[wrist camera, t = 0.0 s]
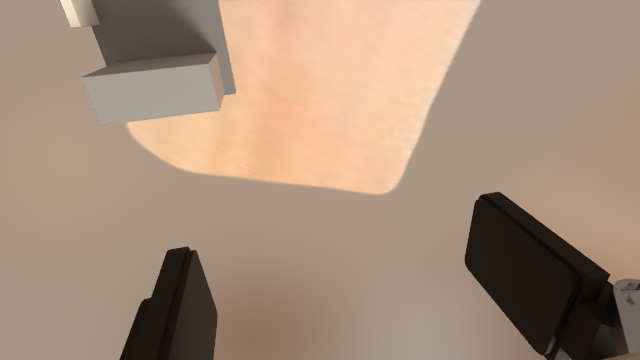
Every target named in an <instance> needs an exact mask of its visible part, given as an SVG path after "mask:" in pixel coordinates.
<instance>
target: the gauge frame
mask: <svg viewBox="0 0 640 360" xmlns="http://www.w3.org/2000/svg"><path fill="white" fill-rule="evenodd" d="M60 2H61V4H62V6H63V9H64V11H65V13H66V16H67V19H68V21H69V24H70V26H71V28H75V27H85V26H92V29H93V31H94V34H95V36H96V39H97V42H98V44H99V47H100V50H101V52H102V55H103V58H104V60H105V63H106V66H107V67H105V68H102V69H100V70H97V71H95V72H93V73H91V74H88V75H86V76H83V77H81V80H82V83H83V85H84V88H85V90H86V92H87V94H88V97H89V99H90V102H91V104H92V106H93V109H94V111H95V114H96V116H97V118H98V120H99V123H100V125H108V124H115V123H124V122H132V121H140V120H148V119H156V118H164V117H172V116H179V115H187V114H195V113H203V112H211V111H219V110H220V106H221V103H222V100H223V96H224V95H230V94H235V93H236V89H235V84H234V79H233V74H232V69H231V64H230V59H229V54H228V49H227V44H226V39H225V34H224V29H223V24H222V19H221V14H220V9H219V4H218V0H60Z"/></svg>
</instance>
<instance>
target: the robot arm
mask: <svg viewBox="0 0 640 360" xmlns="http://www.w3.org/2000/svg"><path fill="white" fill-rule="evenodd" d="M465 264H466V267H467V268H468V270H469V271H470V272H471V273H472V275H473V276H474V277H475V278H476V279H477V281H478V282H479V283H480V284H481V286H482V287H483V288H484V289H485V290H486V292H487V293H488V294H489V295H490V296H491V298H492V299H493V300H494V301H495V303H496V304H497V305H498V306H499V307H500V308H501V310H502V311H503V312H504V313H505V315H506V316H507V317H508V318H509V319H510V321H511V322H512V323H513V324H514V326H515V327H516V328H517V329H518V330H519V332H520V333H521V334H522V335H523V336H524V338H525V339H526V340H527V341H528V343H529V344H530V345H531V346H532V347H533V349H534V350H535V351H536V352H537V353H539V354H541V355H544V357H545V358H546V359H547V360H569V359H570V358H571V359H572V360H640V280H637V279H622V280H619V281H617V282H616V283H615V284H614V285H612V284H611V283H610V282H608V281H607V280H608V278H609V276H610V274H609V273H608V272H606V271H605V270H604V269H602V268H601V267H600V266H598V265H597V264H596V263H594V262H593V261H592V260H590V259H589V258H587V257H586V256H585V255H583V254H582V253H581V252H580V251H578V250H577V249H575V248H574V247H573V246H571V245H570V244H569V243H567V242H566V241H565V240H563V239H562V238H561V237H559V236H558V235H557V234H555V233H554V232H553V231H551V230H550V229H549V228H547V227H546V226H545V225H543V224H542V223H541V222H539V221H538V220H536V219H535V218H534V217H533V216H531V215H530V214H529V213H527V212H526V211H524V210H523V209H522V208H521V207H519V206H518V205H517V204H515V203H514V202H513V201H511V200H510V199H509V198H507V197H506V196H504V195H503V194H502V193H500V192H494V193H489V194H483V195H481V196H480V197H479V199H478V200H476V202H475V205H474V210H473V216H472V221H471V227H470V232H469V238H468V243H467V249H466V254H465ZM216 328H217V310H216V307H215V304H214V301H213V298H212V295H211V292H210V289H209V286H208V283H207V280H206V277H205V274H204V272H203V269H202V265H201V263H200V260H199V257H198V254H197V251H196V250H192V251H191V250H190V249H189V247H182V248H177V249H171V250H168V251H167V253H166V256H165V259H164V262H163V265H162V268H161V270H160V273H159V276H158V279H157V282H156V285H155V288H154V291H153V294H152V297H151V298H148V299H144V300H143V301H142V302H141V304H140V306H139V309H138V311H137V314H136V317H135V320H134V322H133V325H132V328H131V330H130V333H129V336H128V338H127V341H126V344H125V346H124V349H123V352H122V355H121V357H120V360H213V356H214V346H215V337H216Z"/></svg>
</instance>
